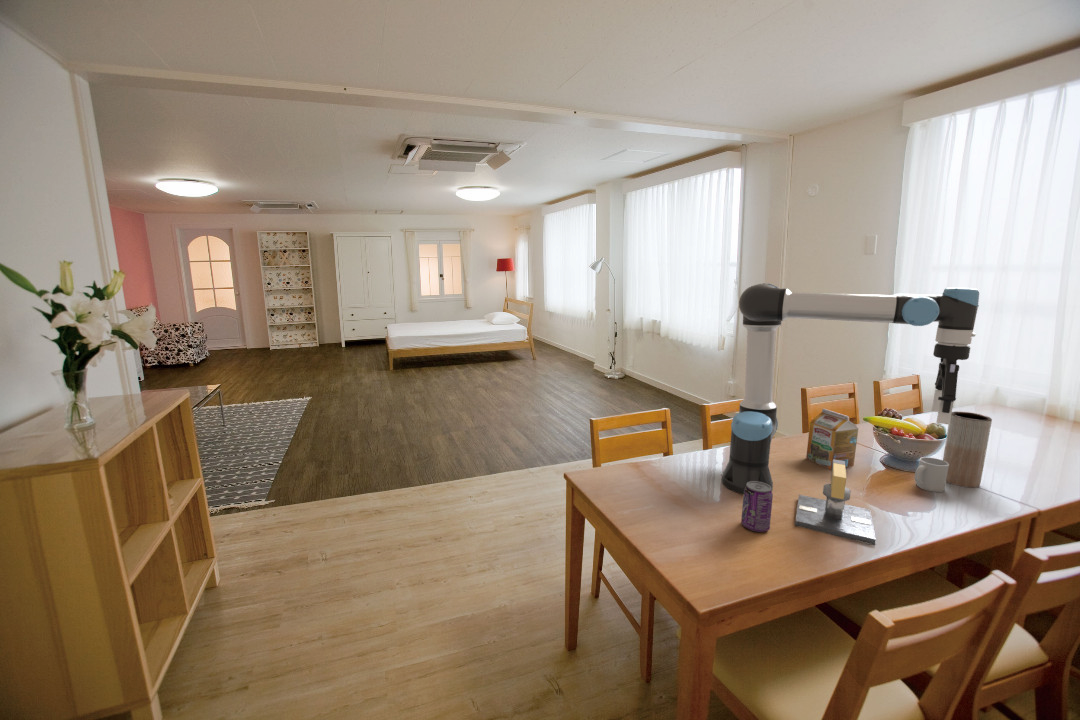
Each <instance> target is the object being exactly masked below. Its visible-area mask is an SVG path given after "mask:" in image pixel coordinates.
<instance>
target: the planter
mask: <svg viewBox="0 0 1080 720" xmlns="http://www.w3.org/2000/svg"><path fill="white" fill-rule="evenodd" d="M992 423H993V419H992V417H990V416H988V415H985V414H981V413H976V412H971V411H970V412H969V411H958V410H957V411H952V414H951V419H950V425H948V424H947V432H946V439H945V446H944V451H943V456H942V457H943V458H942V460H943V461H945V462H947V463H948V464H949V467H948V473H947V479H946V483H949V484H952V485H955V486H958V487H964V488H978V487H980V485H981V482H982V477H983V471H984V465H985V460H986V455H987V449H988V444H989V438H990V434H991V433H990V432H991V427H992Z"/></svg>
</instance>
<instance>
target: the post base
mask: <svg viewBox="0 0 1080 720" xmlns="http://www.w3.org/2000/svg"><path fill="white" fill-rule="evenodd" d="M825 498H826V499H822V498H816V497H812V496H807V495H803V494H798V499H797V507H796V513H795V515H796V516H795V523H794V526H795V527H800V528H802V529H803V528H804V529H807V530H811V531H816V532H820V533H823V534H829V535H832V536H836V537H841V538H844V539H849V540H852V541H857V542H861V543H865V544H869V545H874V546H875V545H876V541H877V540H876V539H877V538H876V534H875V528H874V522H873V516H872V511H871V509H868V508H866V507H865V508H864V507H860V506H854V505H851V504H846V501H839V500H834V499H831V498H828V497H826V496H825Z"/></svg>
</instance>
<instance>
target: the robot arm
mask: <svg viewBox="0 0 1080 720" xmlns="http://www.w3.org/2000/svg"><path fill="white" fill-rule="evenodd" d="M979 300H980V291H979V289H977V288H973V287H972V288H971V287H970V288H969V287H946V288H944V289H943V293H941V294H919V293H893V294H890V295H889V294H859V293H858V294H857V293H831V292H830V293H828V292H827V293H822V292H797V291H796V292H795V291H791V290H790V289H788V288H779V287H778V286H777V285H773V284H771V283H764V282H763V283H758V284H754V285H751V286H749V287H747V288H746V289H745V290H744V291H743V292H742V293H741V294H740V297H739V299H738V307H739V308H738V309H739V312H740V314H742V326H743V327H744V328H745V329H746V330H747V331H746V333H747V334H746V353H745V354H746V355H745V356H746V358H745V376H744V377H745V381H744V382H745V383H744V398H743V400H741V401H740V402H739V407H738V408H739V409H738V410H739V412H738V413H736V414H735V415H733V418H732V421H731V424H730V428H731V431H730V432H731V433H730V443H729V444H730V447H729V459H728V462H727V464H726V466H725V468H724V471H723V473H722V475H721V483H722V485H723V486H724V487H725V488H727V489H728V490H730V491H732V492H735V493H738V494H741V495H744V489H745V487H746V484H747V482H750V481H758V482H763V483H766V484H768V485H769V486H771V488H772V489H771V491H772V492H773V487H774V485H773V484H774V482H773V479H772V475H771V471H770V467H769V463H770V453H771V451H770V450H771V443H772V440H773V438H774V435H775V434H776V433H777V430H778V424H779V423H778V422H779V421H778V418H777V417H778V416H777V412H778V410H777V409H778V405H777V404H776V403H775V402H774V401H773V396H774V395H773V394H774V393H773V392H774V374H775V373H774V372H775V371H774V370H775V353H776V352H775V351H776V333H777V332H776V331H777V330H778V329H779V328H780V327H781V326H782V322H784V321H786V320H787V319H803V320H821V321H822V320H825V321H826V320H827V321H844V322H861V323H862V322H863V323H882V324H883V323H884V324H897V325H898V324H900V325H911V326H913V327H922V326H923V327H924V326H927V325H930V324H931V323H933V322H934V323H936V322H937V323H938V325H937V328H936V332H935V333H936V335H935V342H937V343H935V344H934V348H933V349H934V350H933V356H934V357H935V358H938V359H939V360H940V362H939V364H938V370H937V371H938V372H937V375H936V380H935V382H934V385H935V386H934V395H933V400H932V401H933V402H932V407H931V412H936V413H937V417H936V424H943V425H947V426H948V425H950V419H951V414H952V412H953V407H954V403H955V401H956V399H957V388H958V387H957V386H958V385H957V384H958V378H959V376H958V375H959V371H960V365H959V364H957V363H958V361H966V360H969V358H970V353H971V347H970V344H972V341H973V340H972V339H973V338H974V337H976V335H977V334H976V333H975V332H974V329H975V328H974V327H975V324H976V323H975V322H976V318H977V314H978V308H979V306H980V305H979Z"/></svg>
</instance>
